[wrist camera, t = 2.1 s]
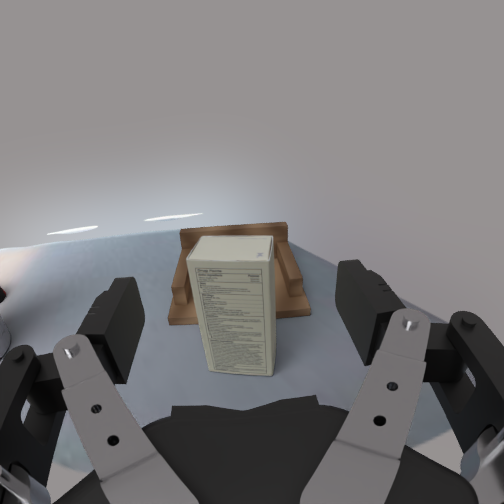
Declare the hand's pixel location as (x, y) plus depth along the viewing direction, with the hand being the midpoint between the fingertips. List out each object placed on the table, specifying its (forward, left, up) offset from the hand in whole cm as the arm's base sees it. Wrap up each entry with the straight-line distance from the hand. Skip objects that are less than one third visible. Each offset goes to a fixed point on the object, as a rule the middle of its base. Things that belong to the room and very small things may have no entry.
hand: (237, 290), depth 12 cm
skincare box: (0, +11, -16) cm, 19 cm away
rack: (0, +24, -15) cm, 29 cm away
